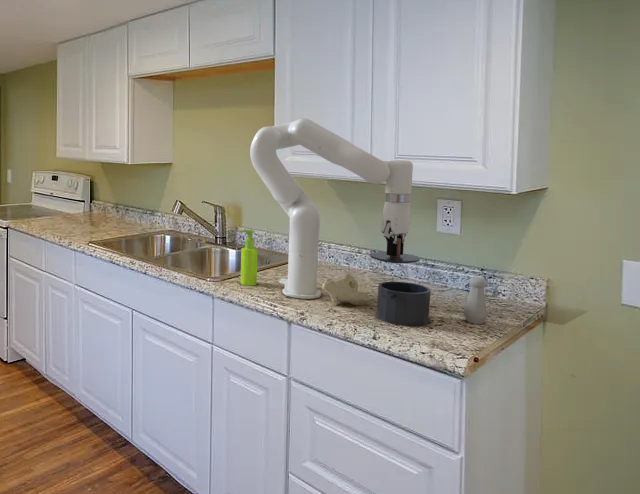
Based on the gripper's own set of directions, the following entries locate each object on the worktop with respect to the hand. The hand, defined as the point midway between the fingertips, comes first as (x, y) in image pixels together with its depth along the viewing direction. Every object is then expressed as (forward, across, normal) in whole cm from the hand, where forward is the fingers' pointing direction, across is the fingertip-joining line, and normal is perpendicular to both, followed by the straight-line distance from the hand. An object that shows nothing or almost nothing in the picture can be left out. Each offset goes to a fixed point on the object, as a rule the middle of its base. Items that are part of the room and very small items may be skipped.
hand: (394, 254), depth 180 cm
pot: (+16, +16, +12) cm, 25 cm away
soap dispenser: (+15, +22, -43) cm, 51 cm away
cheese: (+16, +18, -6) cm, 25 cm away
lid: (+1, 0, 0) cm, 1 cm away
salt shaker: (+16, +2, +26) cm, 30 cm away
